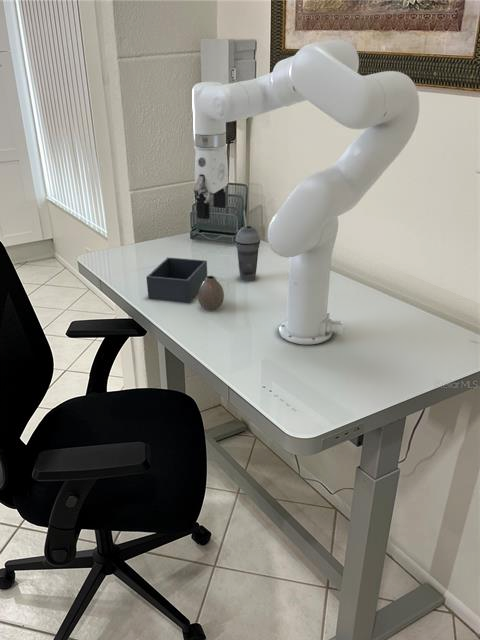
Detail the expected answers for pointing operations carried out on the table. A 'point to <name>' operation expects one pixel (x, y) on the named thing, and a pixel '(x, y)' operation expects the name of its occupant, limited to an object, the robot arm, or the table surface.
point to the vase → (210, 294)
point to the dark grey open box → (176, 279)
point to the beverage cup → (247, 251)
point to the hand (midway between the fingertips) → (211, 212)
